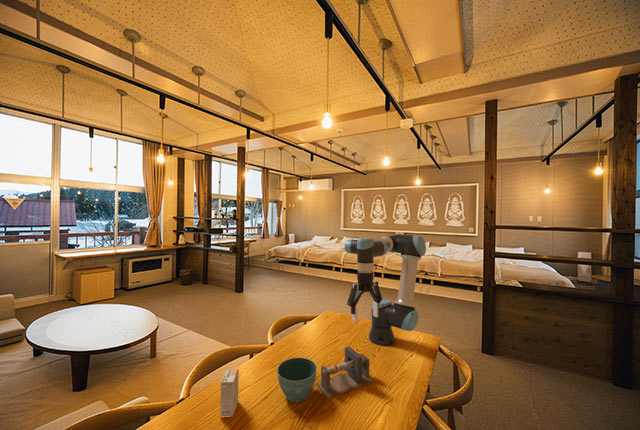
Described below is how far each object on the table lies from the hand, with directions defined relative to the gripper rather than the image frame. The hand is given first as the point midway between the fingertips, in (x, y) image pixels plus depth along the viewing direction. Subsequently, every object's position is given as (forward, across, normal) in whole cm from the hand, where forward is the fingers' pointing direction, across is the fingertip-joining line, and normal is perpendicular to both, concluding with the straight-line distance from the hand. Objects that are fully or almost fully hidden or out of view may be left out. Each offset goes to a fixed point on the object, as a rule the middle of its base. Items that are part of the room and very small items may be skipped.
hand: (365, 318), depth 116 cm
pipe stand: (+26, +11, 0) cm, 28 cm away
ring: (+24, +7, 0) cm, 25 cm away
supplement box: (+26, +59, -7) cm, 65 cm away
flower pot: (+26, +33, -3) cm, 42 cm away
